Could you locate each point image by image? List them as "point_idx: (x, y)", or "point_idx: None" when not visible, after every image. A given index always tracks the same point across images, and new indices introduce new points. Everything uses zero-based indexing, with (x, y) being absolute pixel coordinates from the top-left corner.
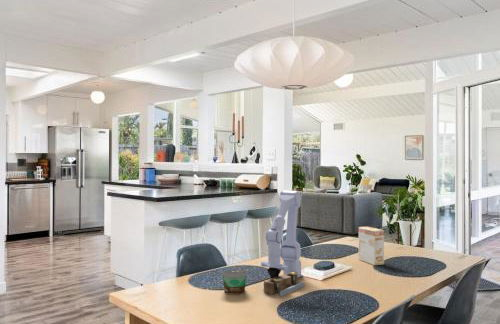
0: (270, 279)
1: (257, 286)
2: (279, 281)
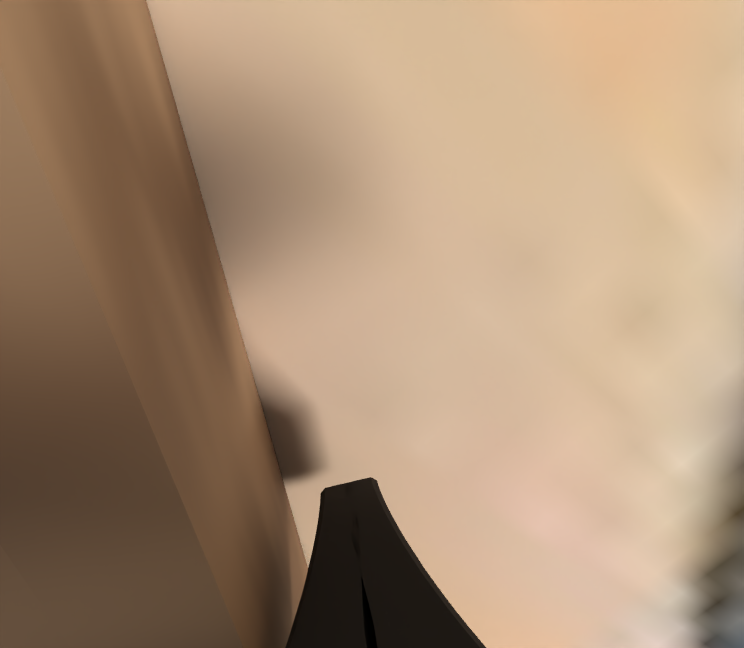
0: (89, 447)
1: (628, 218)
2: None
